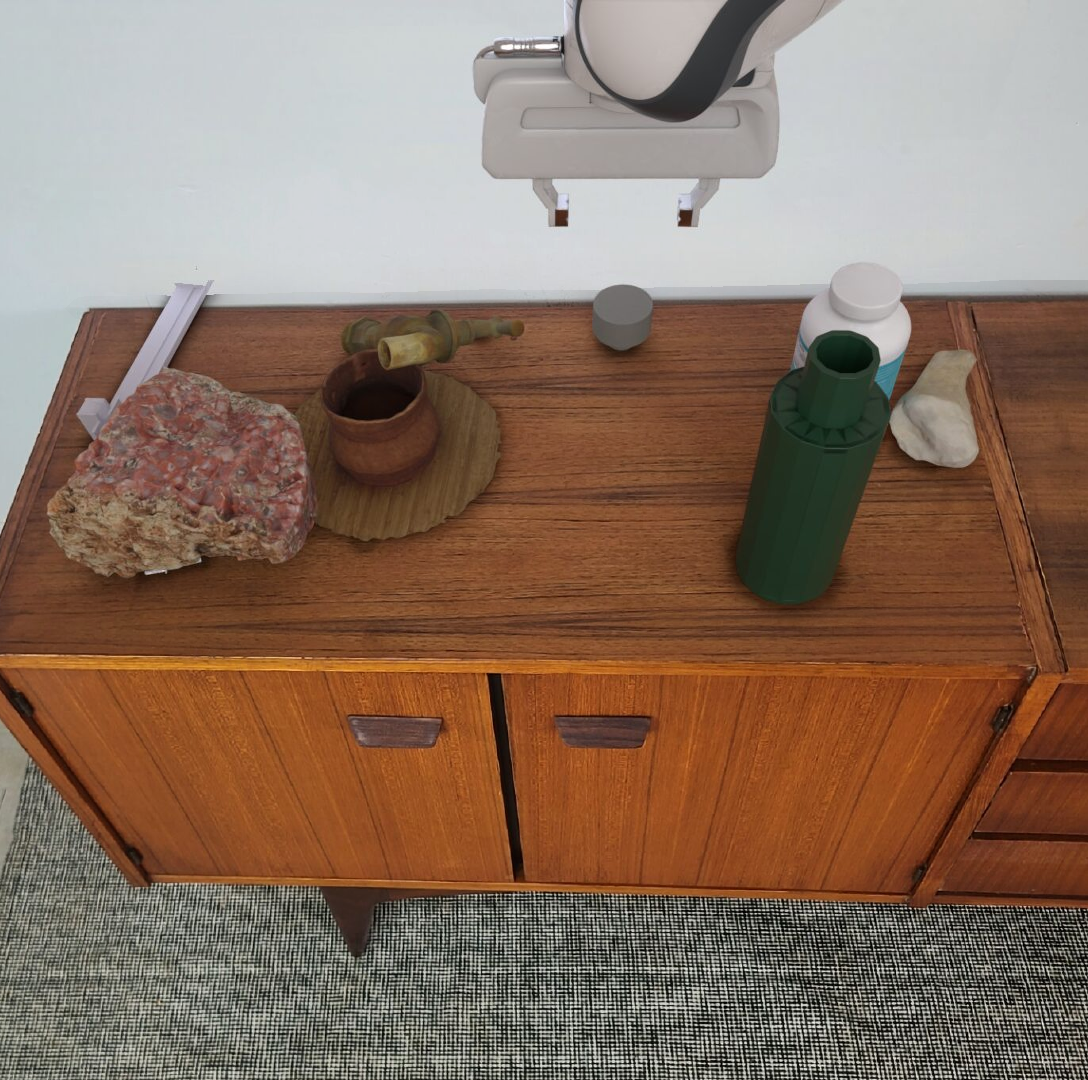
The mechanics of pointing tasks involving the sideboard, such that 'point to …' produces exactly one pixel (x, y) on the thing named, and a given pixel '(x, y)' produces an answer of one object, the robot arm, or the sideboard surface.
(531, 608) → the sideboard surface
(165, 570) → the card
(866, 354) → the bottle
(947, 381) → the beige lumpy piece
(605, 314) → the cylinder
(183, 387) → the rock
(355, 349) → the faucet
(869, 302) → the pill bottle
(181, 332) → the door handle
